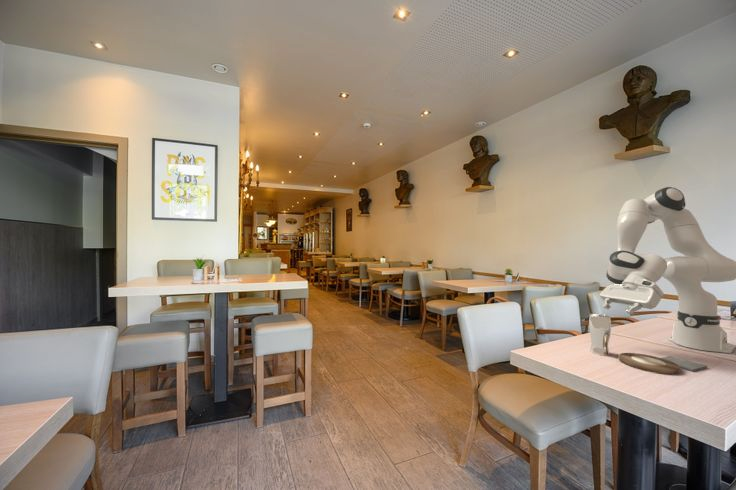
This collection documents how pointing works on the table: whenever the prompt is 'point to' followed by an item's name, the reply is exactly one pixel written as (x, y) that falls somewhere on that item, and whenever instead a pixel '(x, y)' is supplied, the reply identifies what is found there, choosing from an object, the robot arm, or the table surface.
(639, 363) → the round walnut board
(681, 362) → the square charcoal tile
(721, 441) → the table surface
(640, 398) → the table surface
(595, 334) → the beer glass
